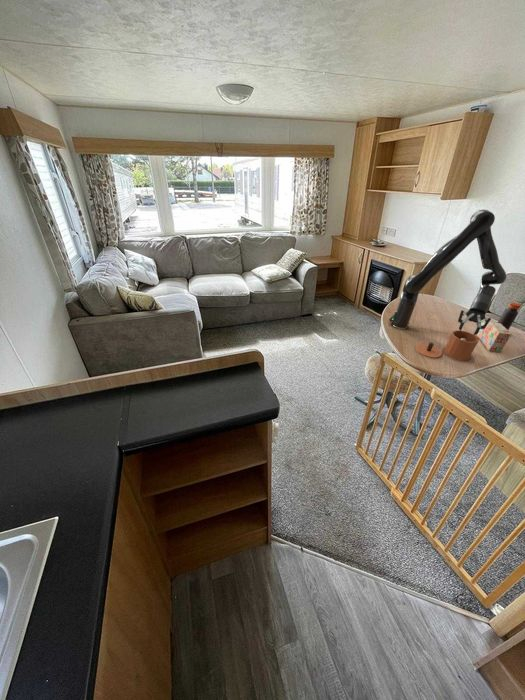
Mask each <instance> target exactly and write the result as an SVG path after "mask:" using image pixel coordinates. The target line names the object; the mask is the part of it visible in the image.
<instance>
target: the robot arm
mask: <svg viewBox="0 0 525 700" xmlns="http://www.w3.org/2000/svg"><path fill="white" fill-rule="evenodd" d="M495 219H496V216H495V214H494V213H493V212H492V211H490V210H488V209H479V210H477V211H475V212H473V214H472V215H471V216H470V218H469V223H468V225H466V227H465V228H463V230H462V231H461V232H460V233H458V234H457V235H456V236H454V237H453V238H451V239H450V240H448V241H447V242H445V243H444V244H443V245H442V246H440V248H439V249H437V251H436V252H434V254H433V255H432V256H431V257H430V259H429V260H428V261H427V263H426V264H425V265H424V267H423V268H422V270H420V271H419V272H418V273H417V274H410V275H409V276H408V277H406V279H405V281H404V285H403V288H402V291H401V295H400V298H399V302H398V304H397V307H396V310H395V312H394V314H393V315H392V316H390V318H389V319H388V320H389V322H390V326H392V327H393V328H396V329H400V330H406V329H407V328H408V327H409V324H410V321H411V317H412V315H413V312H414V310H415V307H416V304H417V302H418V298H419V294H420V292H421V291H422V290H423V289H424V288H425V286H426V285H427V284H428V283H430V281H431V280H432V279H433V278H434V277H435V276H436V275H438V273H440V272H441V271H442V270H443V269H444V268H446V267H447V266H448V265H449V264H451V262H452V261H454V260H455V259H456V258H457V257H458V256H459V255H460V254H461V253H462V252H463V251H464V250H465V249H466V248H467V247H468V246H469V245H470V244H471V243H472V242H473V241H474V240H476V241H477V245H478V251H479V257H480V261H481V265H482V268H483V270H490V271H485V272H484V273H483V274H482V275H481V277H480V284H479V290H478V292H477V294H476V295H475V297H474V299H473V301H472V303H471V304H470V306H469V309H468V311H464V310H462V309H461V311H460V313H459V317H458V320H457V323H460V325H459V327H458V329H459V330H460V331H462V329H463V327H464V326H465V324H466V323H468V322H472V323H476V328H475V330H474V333H473V334H474V335H475V336H477V335H476V334H478V332H479V330H480V329H485V327H486V326H487V324H488V323H489V322H490V321H492V318H491V317H486V314H487V312H488V310H489V307H490V305H491V304H492V300H493V298H494V296H495V294H496V292H497V289H496V287H494V285H501V284H503V283H505V282H506V280H507V272H506V270H505V268H504V267H503V265H502V263H501V262H500V259H499V254H498V250H497V247H496V244H495V241H494V237H493V234H492V226H493V225H494V223H495ZM492 285H493V286H492ZM464 316H466V317H465V318H464V319H463V317H464ZM481 320H485V322H486V323H485V324H484V326H481Z"/></svg>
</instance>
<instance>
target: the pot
mask: <svg viewBox="0 0 525 700" xmlns="http://www.w3.org/2000/svg"><path fill="white" fill-rule="evenodd" d="M461 338H465V339H466V341H464V340H461ZM479 340H480V339H479V337H478V336H477V335H474V333H471V332H469V331H466V330H461V331H460V329H459V330H458V329H457V330H453V331H452V332H451V335H450V337H449V338H448V341H447V343H446V345H445V347H444V349H443V352H444V353H445V355H447V356H448V357H450V358H452V359H454V360H458V361H468V360H469V359H470V358H471V356H472V354H473V352H474V350H475V348H476V347H477V345H478V343H479Z"/></svg>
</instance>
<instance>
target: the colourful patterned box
mask: <svg viewBox="0 0 525 700" xmlns="http://www.w3.org/2000/svg"><path fill="white" fill-rule="evenodd" d="M485 323H486V322H485V319H483V320H481V326H484V324H485ZM475 336H477V337H478V339H479V340H480V341H481V342H482V344H483V346H485V348H486V350H487V351H489V352H496V353H501V352H502V350H503V349H504V348H505V346H506V344H507V342H508V341H509V339H510V337H511V336H512V333H511V332H510V331H509V330H507V329H506V328H505V327H504V326H503V325H502V324H500V323H498V322H493V321H492V320H490V322H489V323H488V324H487V326H486V327H485V329H480V330H479V332H478V334H476V335H475Z"/></svg>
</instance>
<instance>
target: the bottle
mask: <svg viewBox="0 0 525 700" xmlns="http://www.w3.org/2000/svg"><path fill="white" fill-rule="evenodd" d="M521 306H522V305H521V304H520V303H517V302H510V303H509V305H508V308H506V309H504V311H502V312H503V313H502V314H501V316H500V318H499V319H498V321H497V323H500V324H502V325H503V326H504V327H505V328H506V329H507V330H508V331H509V330H510V328H511V327H512V325H513V323H514V322H515V320H516V318H517V317H518V315H519V311H518V310H519V309H520V308H521Z"/></svg>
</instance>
